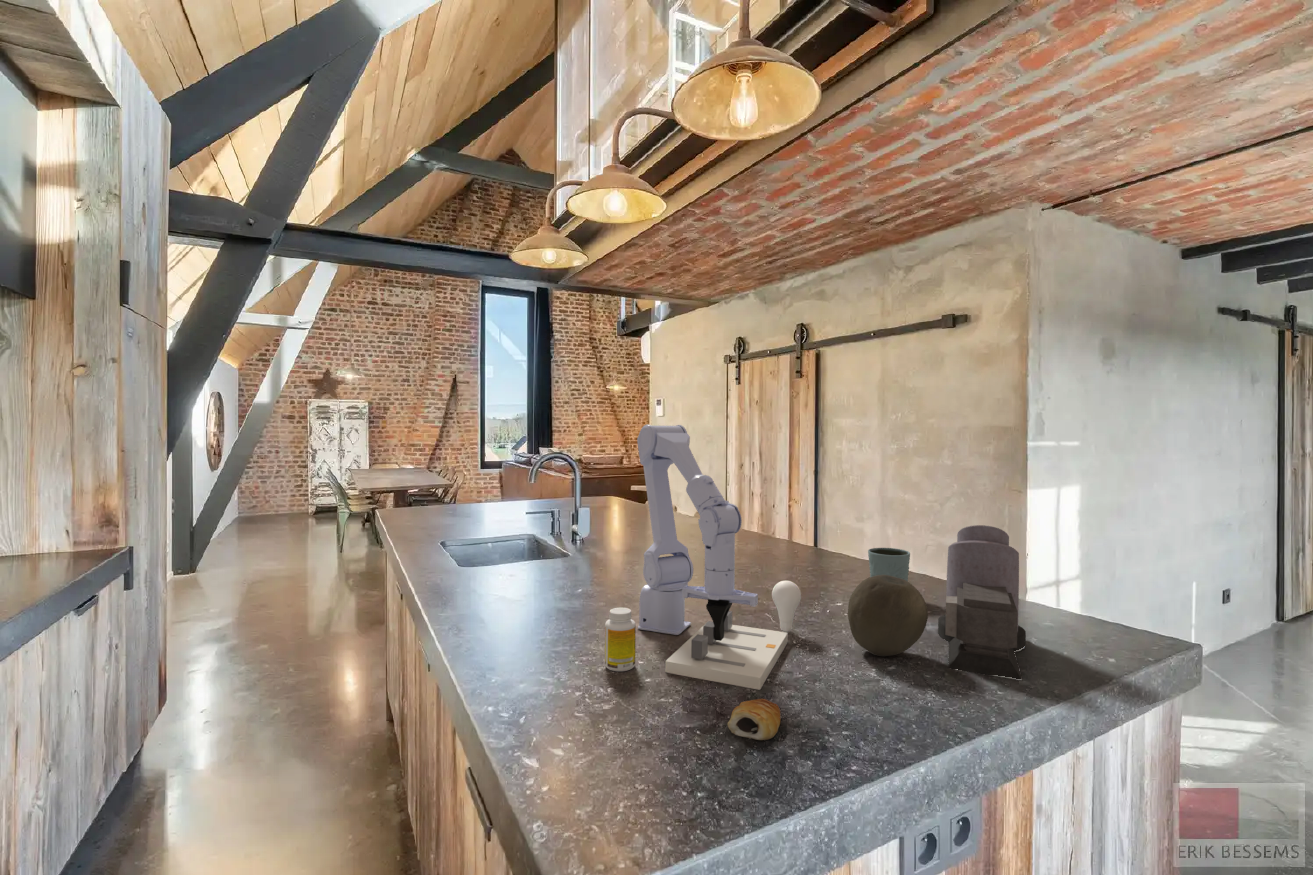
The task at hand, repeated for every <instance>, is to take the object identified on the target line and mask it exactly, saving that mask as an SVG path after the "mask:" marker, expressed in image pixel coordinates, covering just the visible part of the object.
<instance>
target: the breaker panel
mask: <svg viewBox="0 0 1313 875" xmlns="http://www.w3.org/2000/svg"><path fill="white" fill-rule="evenodd" d="M697 634H699V635H703V626H701V627H700V628H699V629H698V630H697V631H696V632H695V633H694V634H693V635H691V637H689V639H687V641H685V642H684V643H683V644H682V645H680V647H679V648H678V649H677V650H676V651H675V652H673V653H672V654H671V655H670V656H669V657H668V658H667V659H666V660H665V664H664V665H665V667H664V668H665V670H664V671H665V673H667V674H672V675H678V676H683V677H689V678H695V679H699V680H705V681H711V682H715V683H721V684H727V685H731V686H732V685H733V686H737V687H742V688H747V689H754V690H759V691H760V690H761V689H762V687H763V685H764V684H765V682H766V680H767V678H768V677H769V675H770V674H771V673H772V672H771V671H772V670H773V668H774V666H775V665H776V664H777V662H778V660H779V659H780V657H781V654H782V653H783V651H784V649H785V648H786V646H787V645H788V643H789V637H788V636H789V632H787V633H786V632H784V631H779V630H772V629H766V628H757V627H750V626H746V625H745V626H743V625H737V624H732V627H731V628H730V630H729V631H724V638H723V639H722V640H721V641H719V640H717V641H716V642H715V643H714V644H708V654H707V655H706V656H705V657H704V658H703V659H702V660H701V659H695V658H691V646H692V639H693V638H694V637H695V636H696V635H697Z"/></svg>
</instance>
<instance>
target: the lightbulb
mask: <svg viewBox="0 0 1313 875" xmlns="http://www.w3.org/2000/svg"><path fill="white" fill-rule="evenodd" d="M771 597H772V601H773V603H774V606H775V607H776V610H777V613H778V621H779V628H780V630H781V631H782V632H786V633H789V632H790V631H792V630H793V622H794V620H795V612H796V610H797V608H798V606H799V605H800V603H801V599H802V591H801V589H800V588H799V586H798V585H797V584H796V583H795V582H793V581H791V580H781V581H778V582H776V584H775V585H774V587H773V589H772V591H771Z"/></svg>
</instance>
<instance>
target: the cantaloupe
mask: <svg viewBox="0 0 1313 875" xmlns="http://www.w3.org/2000/svg"><path fill="white" fill-rule="evenodd" d="M849 597H850V598H849V600H848V601H849V602H848V607H847V619H848V623H849V624H848V625H849V628H850V633H851V636H852V637H853V639H854V640H855V641H856V643H857V644H858V645H859V646H860V647H862V648H863V649H865V650H866V651H867V652H869V653H870V654H872V655H875V656H878V657H890V656H891V657H892V656H895V655H899V654H901V653H904V652H905V651H907V650H908V649H910V648H911V647H912V646H913V645H914V644H916V643H917V642H918V640H919V639H920V638H921V637H922V635H923V633H924V631H925V628H926V626H927V623H928V618H929V611H928V606H927V603H926V601H925V599H924V597H923V595H922V594H921V592H920V591H919V590H918V588H917V587H915V586H914V585H913V584H912V583H911V582H909V581H908V582H907V581H906V580H904V579H901V578H897V577H894V576H889V575H876V576H873V577H870V576H869V577H866V579H864V580H862V581H861V582H859V584H857V586H856V587H855V589H853V592H851V595H850V596H849Z"/></svg>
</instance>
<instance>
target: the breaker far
mask: <svg viewBox="0 0 1313 875" xmlns="http://www.w3.org/2000/svg"><path fill="white" fill-rule="evenodd" d="M732 625H733V611H732V610H729V612H728V614H727V616H726V619H725V622H724V631H729V630H730V628H731V627H732Z"/></svg>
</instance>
